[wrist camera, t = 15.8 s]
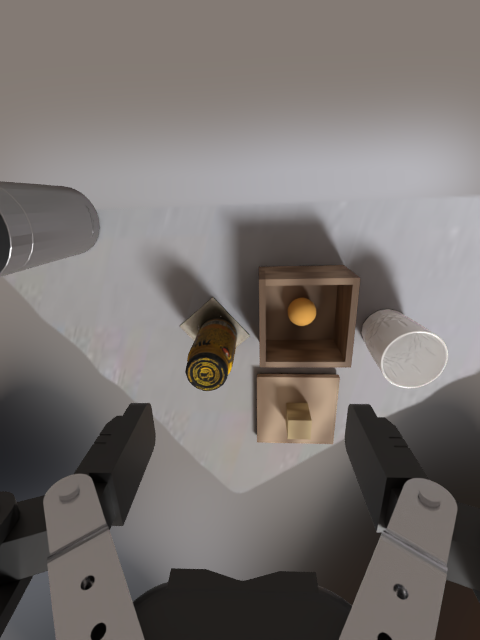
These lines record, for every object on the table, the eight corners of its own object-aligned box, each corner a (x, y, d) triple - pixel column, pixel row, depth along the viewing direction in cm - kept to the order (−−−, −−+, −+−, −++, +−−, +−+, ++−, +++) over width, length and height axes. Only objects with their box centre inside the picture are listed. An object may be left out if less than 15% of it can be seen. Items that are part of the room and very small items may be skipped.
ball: (286, 320, 47) (288, 330, 44) (286, 294, 46) (289, 302, 42) (313, 320, 47) (317, 330, 43) (314, 294, 46) (319, 302, 42)
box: (259, 342, 50) (259, 367, 42) (258, 266, 46) (258, 279, 38) (336, 342, 49) (351, 367, 42) (343, 265, 45) (360, 277, 37)
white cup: (350, 316, 47) (373, 345, 38) (403, 296, 46) (440, 321, 37) (365, 359, 50) (390, 396, 40) (416, 342, 48) (454, 375, 39)
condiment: (216, 362, 52) (205, 406, 40) (179, 325, 50) (156, 362, 38) (250, 335, 50) (247, 374, 38) (213, 296, 48) (198, 325, 36)
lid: (257, 435, 57) (257, 462, 51) (257, 371, 52) (256, 392, 46) (330, 436, 56) (339, 464, 50) (337, 372, 51) (347, 394, 45)
